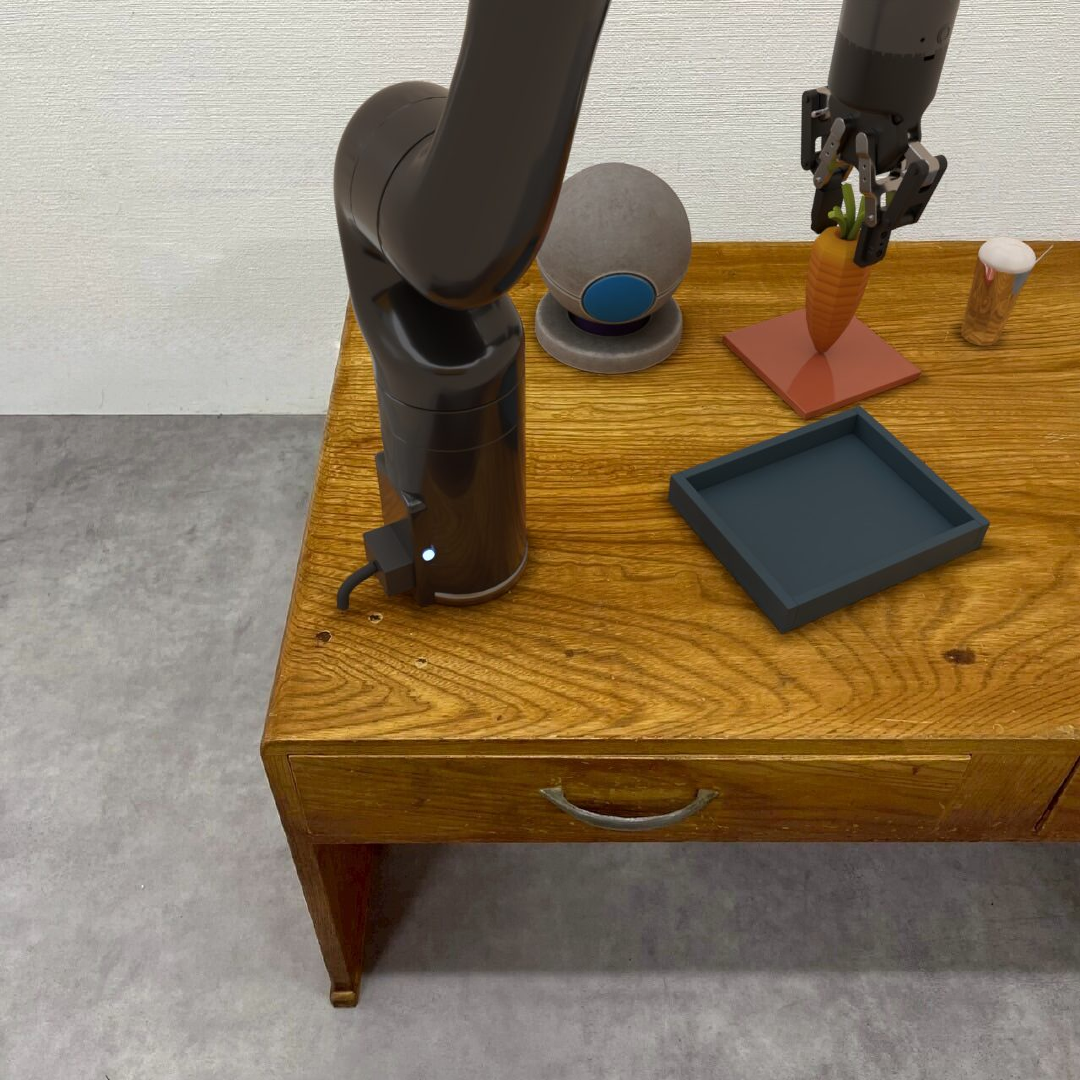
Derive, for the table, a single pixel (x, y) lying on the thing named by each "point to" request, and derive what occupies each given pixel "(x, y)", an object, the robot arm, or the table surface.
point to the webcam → (613, 270)
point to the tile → (819, 363)
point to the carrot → (835, 275)
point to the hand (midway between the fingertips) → (844, 245)
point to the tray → (824, 516)
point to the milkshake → (996, 288)
